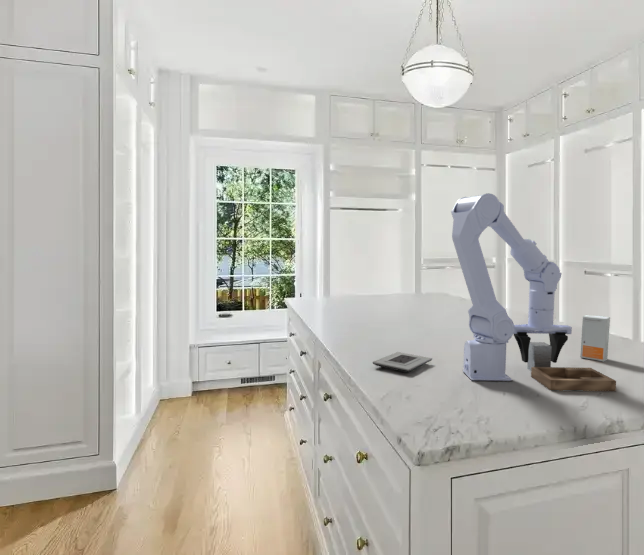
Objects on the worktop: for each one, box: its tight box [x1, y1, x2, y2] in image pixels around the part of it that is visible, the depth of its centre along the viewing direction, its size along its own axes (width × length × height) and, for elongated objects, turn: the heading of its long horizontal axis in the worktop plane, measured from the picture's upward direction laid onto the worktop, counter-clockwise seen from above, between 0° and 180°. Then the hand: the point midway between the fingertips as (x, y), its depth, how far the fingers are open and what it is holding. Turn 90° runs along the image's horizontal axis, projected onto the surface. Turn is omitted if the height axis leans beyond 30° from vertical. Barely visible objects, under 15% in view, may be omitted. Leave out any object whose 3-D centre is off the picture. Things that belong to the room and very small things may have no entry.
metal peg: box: [526, 341, 552, 372], centre depth 111 cm, size 4×4×7 cm
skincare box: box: [579, 314, 611, 363], centre depth 122 cm, size 6×4×12 cm
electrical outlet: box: [372, 351, 433, 373], centre depth 116 cm, size 13×10×2 cm
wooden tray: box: [530, 366, 617, 392], centre depth 101 cm, size 14×10×2 cm
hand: (539, 361), depth 111 cm, fingers open, 6 cm apart
